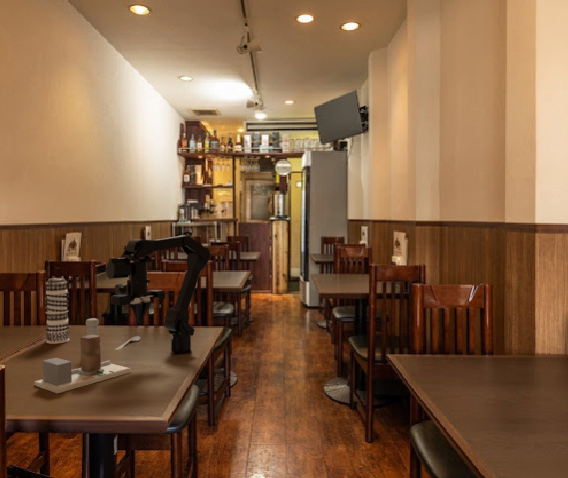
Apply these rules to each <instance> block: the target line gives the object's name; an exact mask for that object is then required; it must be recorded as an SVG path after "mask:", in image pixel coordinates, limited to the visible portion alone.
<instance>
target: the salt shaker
mask: <svg viewBox="0 0 568 478" xmlns="http://www.w3.org/2000/svg"><path fill="white" fill-rule="evenodd" d="M99 324H100V320H99V319H98V318H95V317H94V318H92V317H91V318H87V319H86V320H85V326H87V329H86V335H85V336H88V335H97V336H100V333H99V328H98V326H99ZM101 351H102V343H101V342H100V352H101Z"/></svg>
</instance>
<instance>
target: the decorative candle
mask: <svg viewBox="0 0 568 478" xmlns="http://www.w3.org/2000/svg"><path fill="white" fill-rule="evenodd" d="M67 283H68V281H67V280H66V279H65V278H63V277H54V278H48V280H47V282H45V285H46V286H45V288H46V290H45V295H44V296H45V297H44V304H45V307H44V310H45V314H46V324H45V327H46V329H45V331H46V334H45V336H46V338H45V340H46V344H51V345H52V344H54V345H55V344H63V343H67V342H70V331H69V329H70V326H69V325H70V322H69V317H68V316H69V314H68V312H69V309H68V307H70V304H68V303H70V301H69V300H68V299H69V298H70V295H69V294H70V292H69V291H68V285H67Z"/></svg>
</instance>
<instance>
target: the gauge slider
mask: <svg viewBox="0 0 568 478" xmlns="http://www.w3.org/2000/svg"><path fill="white" fill-rule="evenodd" d="M100 343H101V336H100V335H99V336H97V335H88V336H86V335H84V336H80V368H81V369H78V368H77V369H78V372H79V373H82V374H86V375H89V376H90V375H93V374H97V373H100V374H103V372H104V369H102V368H101V360H102V359H101V351H100Z"/></svg>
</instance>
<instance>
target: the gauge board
mask: <svg viewBox="0 0 568 478" xmlns="http://www.w3.org/2000/svg"><path fill="white" fill-rule="evenodd" d="M101 368H102V369H104V372H103V374H100V373H97V374H93V375H90V376H89V375H86V374H82V373H79V372H78V369H81V367H79V368H74V369H72V361H70V360H66V359H62V358H58V357H54V358H48V359H44V360H42V379H38V380H35V381H34V386H35V385H36V387H38V388H41V389H43V390H46V391H49V392H52V393H55V394H60V393H65V392H67V391H70V390H74V389H78V388H80V387H85V386H88V385H91V384H94V383H95V384H96V383H98V382H102V381H106V380H109V379H112V378H116V377H118V376H123V375H127V374H130V373H131V367H126V366H122V365H118V364H114V363H112V362H111V360H105V361H103V362H101Z"/></svg>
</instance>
